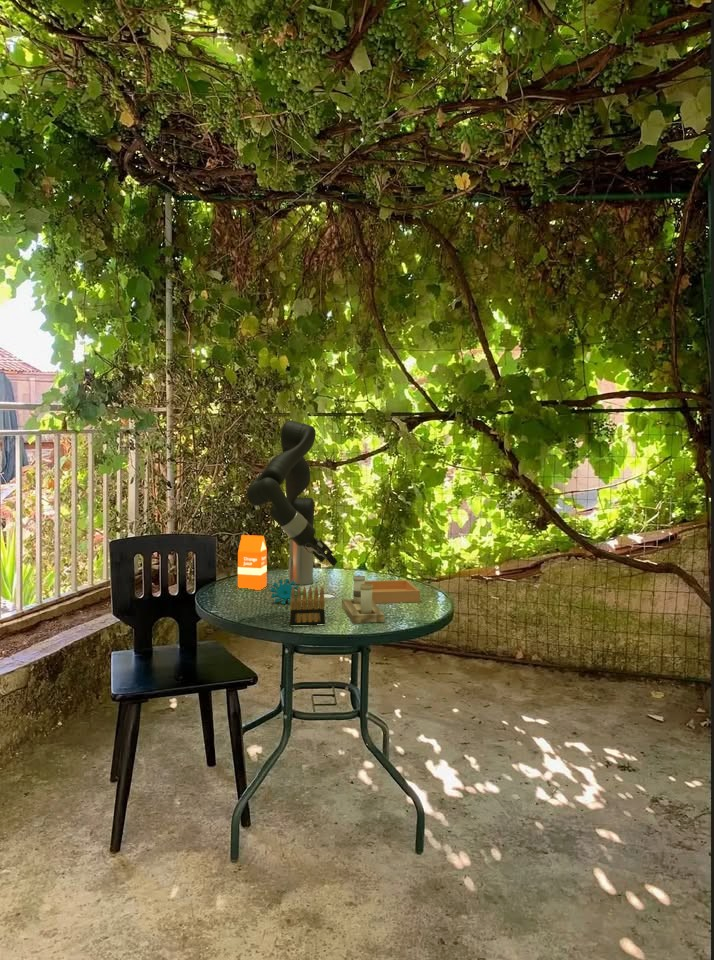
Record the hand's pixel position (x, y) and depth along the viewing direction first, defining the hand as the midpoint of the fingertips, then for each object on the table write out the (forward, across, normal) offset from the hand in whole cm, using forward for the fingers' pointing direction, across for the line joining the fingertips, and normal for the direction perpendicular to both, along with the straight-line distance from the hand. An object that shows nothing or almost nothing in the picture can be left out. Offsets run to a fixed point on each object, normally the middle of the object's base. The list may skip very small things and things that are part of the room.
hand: (329, 561), depth 227 cm
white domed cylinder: (+20, 0, +4) cm, 20 cm away
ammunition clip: (+4, -9, +21) cm, 23 cm away
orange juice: (+5, +45, +18) cm, 48 cm away
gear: (+8, +20, +16) cm, 27 cm away
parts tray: (+33, +11, -10) cm, 36 cm away
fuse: (+17, -12, +7) cm, 22 cm away
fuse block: (+18, -6, +5) cm, 20 cm away
